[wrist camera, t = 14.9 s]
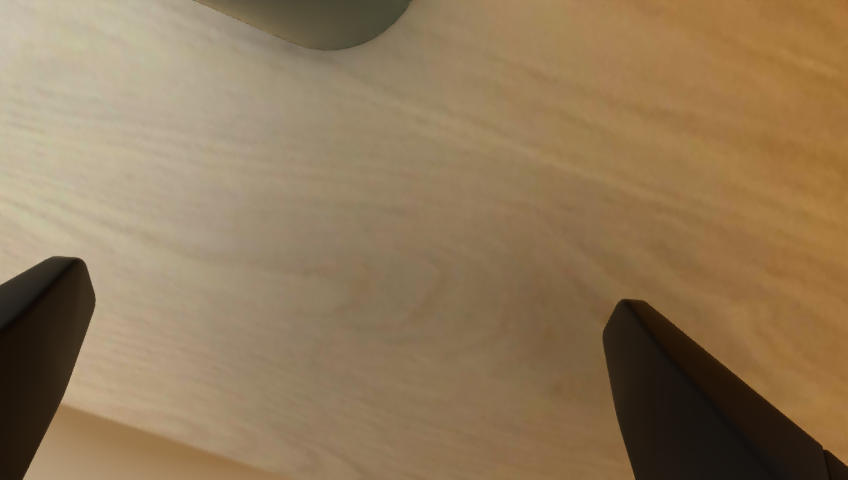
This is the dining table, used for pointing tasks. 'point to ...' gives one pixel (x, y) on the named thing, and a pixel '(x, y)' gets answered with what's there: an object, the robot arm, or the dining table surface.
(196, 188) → the dining table surface
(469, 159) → the dining table surface
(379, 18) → the can
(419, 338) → the dining table surface
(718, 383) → the robot arm
